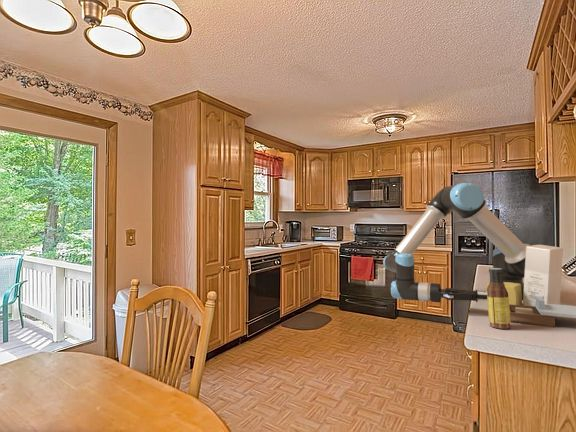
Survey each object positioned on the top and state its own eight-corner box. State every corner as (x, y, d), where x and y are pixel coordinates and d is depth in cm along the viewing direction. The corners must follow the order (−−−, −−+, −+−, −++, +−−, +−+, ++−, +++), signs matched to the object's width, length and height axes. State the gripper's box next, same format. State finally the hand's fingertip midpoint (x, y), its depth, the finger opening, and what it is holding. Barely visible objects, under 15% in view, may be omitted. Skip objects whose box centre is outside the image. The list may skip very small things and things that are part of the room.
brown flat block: (505, 312, 130) (505, 303, 130) (547, 316, 124) (546, 307, 124) (508, 322, 118) (508, 312, 118) (554, 327, 112) (554, 316, 112)
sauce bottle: (514, 327, 112) (512, 268, 112) (504, 331, 109) (502, 270, 109) (494, 323, 118) (492, 266, 118) (484, 326, 114) (482, 268, 115)
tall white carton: (559, 309, 132) (563, 247, 129) (546, 313, 128) (550, 250, 125) (535, 302, 139) (538, 244, 137) (522, 306, 136) (525, 246, 133)
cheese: (494, 303, 146) (493, 280, 146) (523, 307, 138) (523, 283, 138) (486, 307, 139) (485, 283, 140) (516, 312, 131) (515, 286, 132)
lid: (534, 305, 126) (533, 294, 126) (578, 309, 120) (578, 297, 120) (541, 314, 113) (540, 302, 113) (591, 319, 107) (590, 306, 107)
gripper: (432, 298, 143) (496, 303, 131) (428, 304, 131) (499, 311, 120) (431, 280, 143) (496, 284, 132) (428, 285, 132) (498, 290, 120)
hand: (497, 297), depth 126 cm, fingers closed
